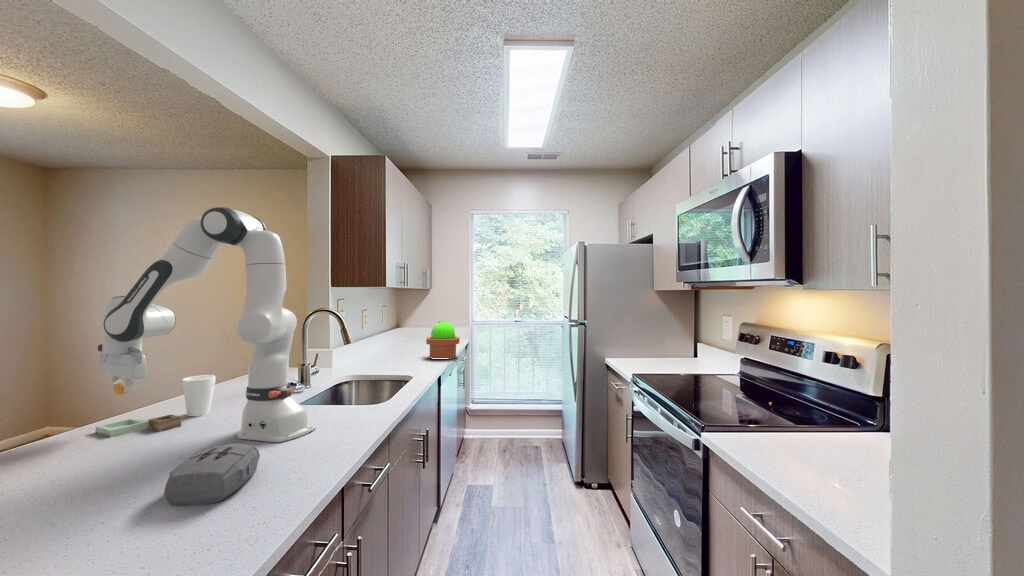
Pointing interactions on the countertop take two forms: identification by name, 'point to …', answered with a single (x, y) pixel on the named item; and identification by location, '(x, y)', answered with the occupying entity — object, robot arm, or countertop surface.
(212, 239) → the robot arm
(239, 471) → the small grey backpack
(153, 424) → the brown wooden box
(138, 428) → the tray
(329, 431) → the countertop surface
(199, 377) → the foam cup
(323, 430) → the countertop surface
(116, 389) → the ball
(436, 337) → the potted cactus
